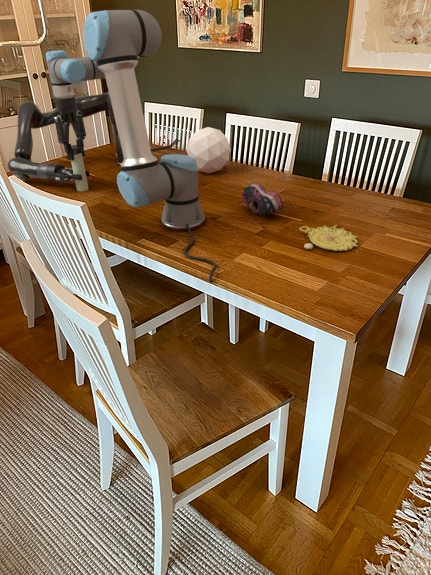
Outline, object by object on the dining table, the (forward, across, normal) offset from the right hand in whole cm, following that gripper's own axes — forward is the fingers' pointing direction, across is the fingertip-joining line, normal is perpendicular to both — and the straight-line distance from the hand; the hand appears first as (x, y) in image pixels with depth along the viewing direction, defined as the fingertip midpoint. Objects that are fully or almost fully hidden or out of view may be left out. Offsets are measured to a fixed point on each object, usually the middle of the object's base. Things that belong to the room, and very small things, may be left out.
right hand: (76, 157), depth 180 cm
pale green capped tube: (+13, 0, 0) cm, 13 cm away
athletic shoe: (+13, +10, -76) cm, 78 cm away
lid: (-4, 0, 0) cm, 4 cm away
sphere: (+13, +43, -38) cm, 59 cm away
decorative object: (+13, -2, -106) cm, 107 cm away
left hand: (+7, 0, -3) cm, 8 cm away
